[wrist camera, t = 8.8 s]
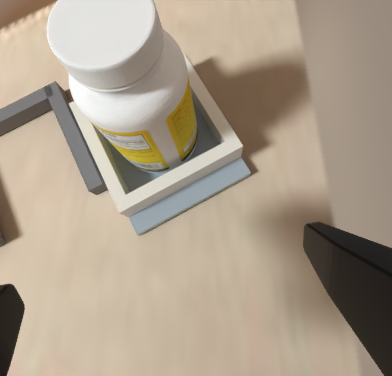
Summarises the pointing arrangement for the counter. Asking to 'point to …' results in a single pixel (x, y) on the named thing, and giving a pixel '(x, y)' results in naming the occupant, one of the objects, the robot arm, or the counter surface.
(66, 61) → the supplement bottle
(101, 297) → the counter surface
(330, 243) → the robot arm
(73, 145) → the holster cradle
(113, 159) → the panel
